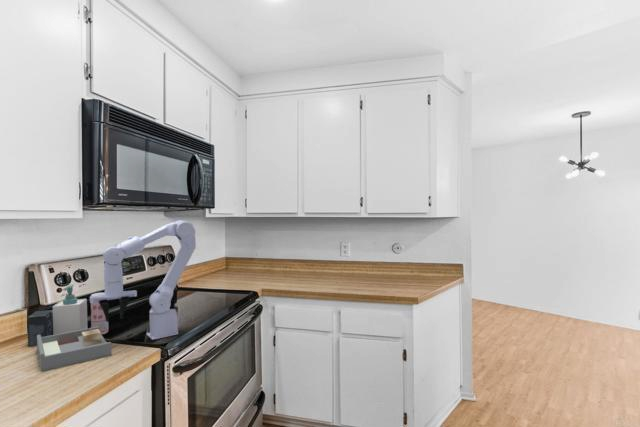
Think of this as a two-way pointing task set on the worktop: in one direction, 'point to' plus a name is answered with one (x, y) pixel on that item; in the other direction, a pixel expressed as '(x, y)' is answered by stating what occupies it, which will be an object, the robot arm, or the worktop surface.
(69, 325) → the soap bottle
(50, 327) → the box
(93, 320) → the beverage can
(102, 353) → the trap tray
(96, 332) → the maple block
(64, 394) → the worktop surface
